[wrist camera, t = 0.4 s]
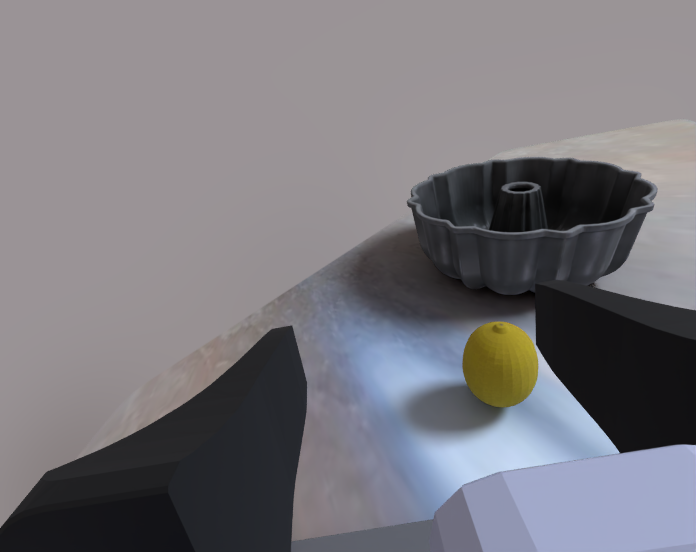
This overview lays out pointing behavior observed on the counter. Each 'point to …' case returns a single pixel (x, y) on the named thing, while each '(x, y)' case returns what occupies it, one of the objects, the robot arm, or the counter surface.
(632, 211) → the bundt pan
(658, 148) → the counter surface
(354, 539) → the panel
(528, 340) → the lemon
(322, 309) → the counter surface
